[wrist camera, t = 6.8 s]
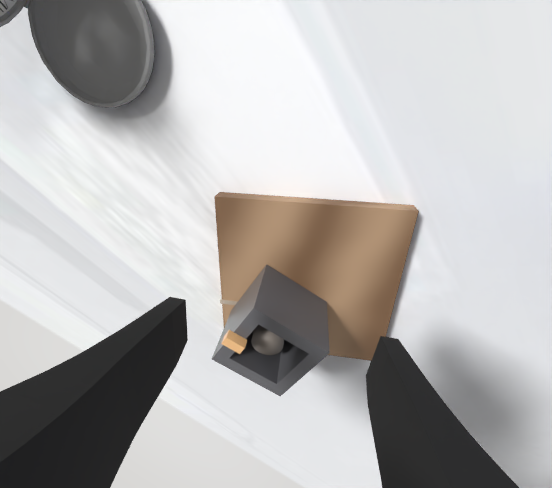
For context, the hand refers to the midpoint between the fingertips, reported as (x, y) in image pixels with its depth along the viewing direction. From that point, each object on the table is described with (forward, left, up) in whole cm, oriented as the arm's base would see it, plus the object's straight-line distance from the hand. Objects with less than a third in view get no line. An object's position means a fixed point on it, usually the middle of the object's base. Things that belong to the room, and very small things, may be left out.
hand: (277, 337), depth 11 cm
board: (-1, +4, -10) cm, 10 cm away
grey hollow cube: (+1, +5, -8) cm, 10 cm away
